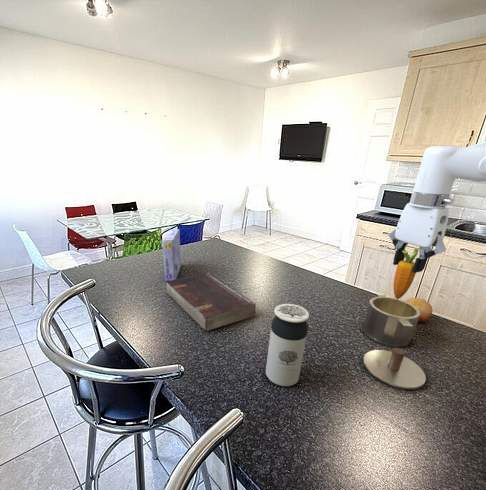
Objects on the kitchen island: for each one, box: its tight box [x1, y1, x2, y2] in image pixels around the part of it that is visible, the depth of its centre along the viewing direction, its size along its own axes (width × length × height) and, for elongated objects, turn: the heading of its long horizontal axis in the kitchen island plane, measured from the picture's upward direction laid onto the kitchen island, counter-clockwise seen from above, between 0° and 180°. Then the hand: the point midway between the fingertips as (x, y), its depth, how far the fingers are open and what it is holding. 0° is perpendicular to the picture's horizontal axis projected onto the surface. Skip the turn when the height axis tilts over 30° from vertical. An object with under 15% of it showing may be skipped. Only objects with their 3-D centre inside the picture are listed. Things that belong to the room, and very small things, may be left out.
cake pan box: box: [161, 228, 182, 281], centre depth 125 cm, size 19×5×18 cm, turn 178°
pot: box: [362, 294, 420, 348], centre depth 87 cm, size 13×18×10 cm
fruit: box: [404, 297, 433, 323], centre depth 96 cm, size 8×8×8 cm
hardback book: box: [165, 272, 257, 332], centre depth 102 cm, size 29×19×5 cm, turn 32°
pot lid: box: [362, 347, 427, 390], centre depth 73 cm, size 14×14×6 cm
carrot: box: [392, 248, 419, 299], centre depth 81 cm, size 5×5×15 cm
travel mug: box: [265, 303, 310, 387], centre depth 68 cm, size 8×8×18 cm
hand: (407, 267), depth 80 cm, fingers closed on carrot, 4 cm apart
